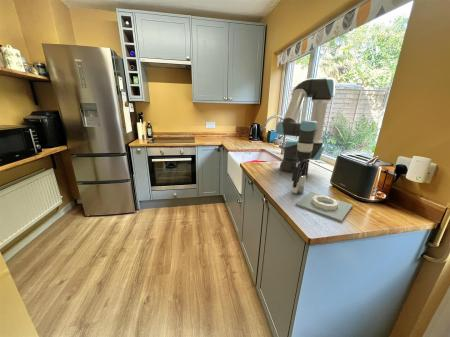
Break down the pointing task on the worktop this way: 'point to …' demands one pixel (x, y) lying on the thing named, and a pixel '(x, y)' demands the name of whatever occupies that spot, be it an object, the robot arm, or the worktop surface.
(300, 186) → the duct collar
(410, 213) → the worktop surface
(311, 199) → the duct flange
